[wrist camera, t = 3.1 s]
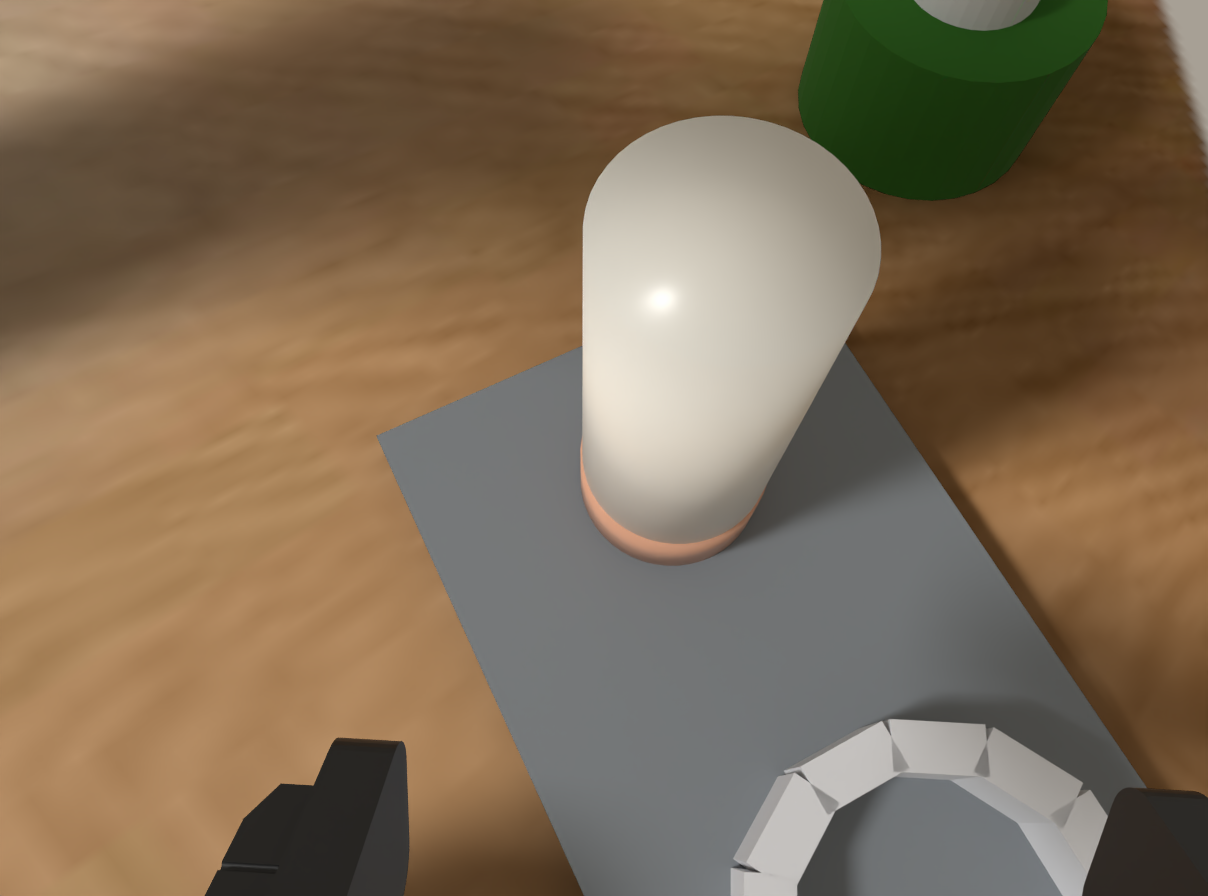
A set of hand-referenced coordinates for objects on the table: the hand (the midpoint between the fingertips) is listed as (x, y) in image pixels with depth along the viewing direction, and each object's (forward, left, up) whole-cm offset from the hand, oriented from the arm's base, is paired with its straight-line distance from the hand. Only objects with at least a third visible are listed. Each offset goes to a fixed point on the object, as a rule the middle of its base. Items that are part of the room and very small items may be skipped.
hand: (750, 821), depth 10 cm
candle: (-17, +20, -15) cm, 30 cm away
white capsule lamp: (-8, +5, -14) cm, 16 cm away
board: (-1, +5, -15) cm, 15 cm away
